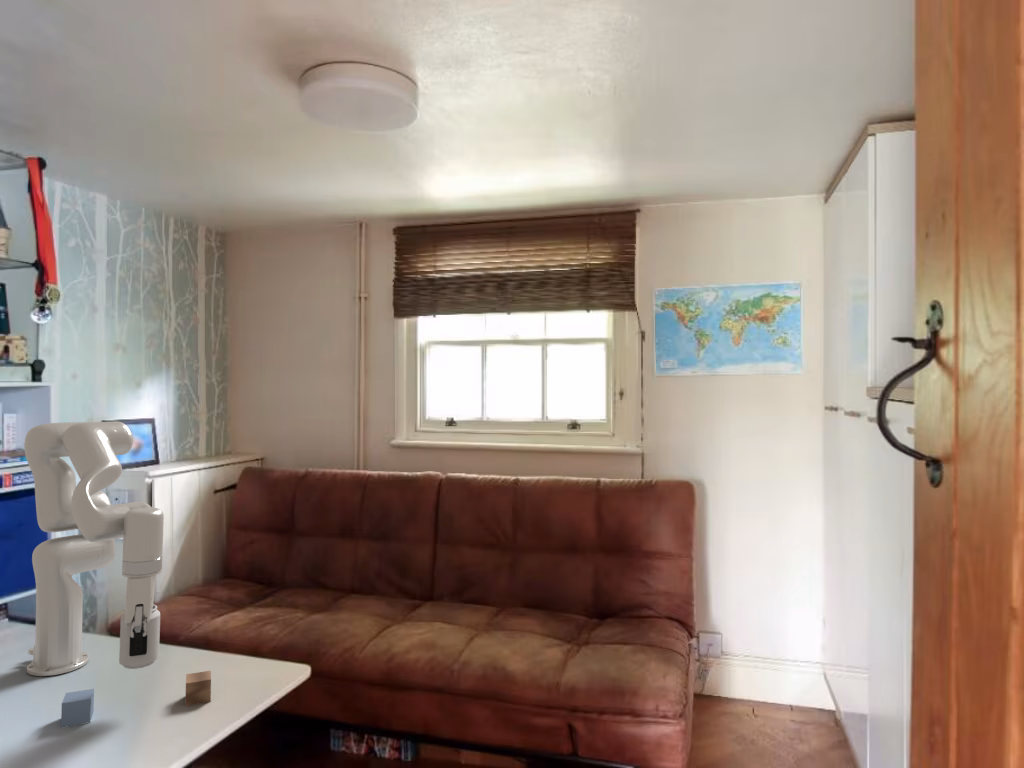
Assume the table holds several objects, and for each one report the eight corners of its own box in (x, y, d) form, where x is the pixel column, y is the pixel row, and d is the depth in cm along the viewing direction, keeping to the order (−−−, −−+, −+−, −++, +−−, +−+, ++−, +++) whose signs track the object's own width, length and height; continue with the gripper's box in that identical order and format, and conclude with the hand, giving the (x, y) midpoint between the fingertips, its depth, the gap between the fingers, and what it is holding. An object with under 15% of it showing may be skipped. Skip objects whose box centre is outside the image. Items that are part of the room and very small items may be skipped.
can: (141, 672, 138) (142, 615, 138) (110, 668, 139) (112, 611, 139) (166, 657, 145) (168, 603, 145) (137, 653, 147) (139, 600, 146)
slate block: (61, 728, 133) (61, 703, 133) (65, 716, 138) (65, 692, 138) (90, 723, 136) (90, 698, 136) (93, 712, 140) (94, 688, 140)
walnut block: (185, 706, 143) (185, 683, 143) (185, 696, 148) (186, 674, 148) (210, 702, 145) (211, 679, 145) (210, 692, 150) (210, 670, 150)
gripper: (126, 557, 148) (123, 635, 148) (117, 579, 133) (114, 666, 133) (163, 554, 151) (161, 630, 152) (160, 575, 136) (157, 661, 136)
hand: (139, 647), depth 142 cm, fingers closed on can, 7 cm apart
